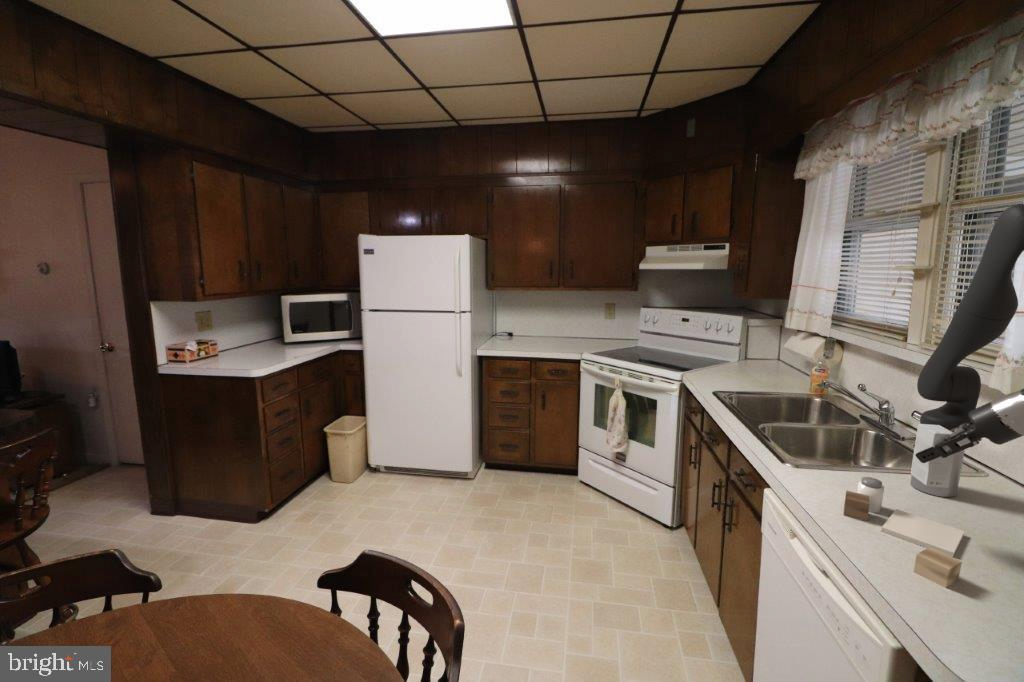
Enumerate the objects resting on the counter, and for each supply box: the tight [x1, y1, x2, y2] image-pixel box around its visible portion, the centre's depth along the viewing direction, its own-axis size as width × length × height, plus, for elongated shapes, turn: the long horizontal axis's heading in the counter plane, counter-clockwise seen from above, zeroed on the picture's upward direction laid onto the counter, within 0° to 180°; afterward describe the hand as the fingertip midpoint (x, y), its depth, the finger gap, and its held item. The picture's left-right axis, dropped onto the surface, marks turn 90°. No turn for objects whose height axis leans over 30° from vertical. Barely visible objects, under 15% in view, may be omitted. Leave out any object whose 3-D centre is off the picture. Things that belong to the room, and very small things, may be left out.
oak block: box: [913, 547, 963, 589], centre depth 91 cm, size 5×5×4 cm
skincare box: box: [910, 423, 954, 488], centre depth 102 cm, size 6×4×12 cm
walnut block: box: [843, 490, 870, 522], centre depth 113 cm, size 4×4×4 cm
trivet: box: [880, 509, 965, 558], centre depth 105 cm, size 12×12×1 cm
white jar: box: [856, 476, 885, 514], centre depth 116 cm, size 5×5×7 cm
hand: (923, 453), depth 103 cm, fingers closed on skincare box, 7 cm apart
